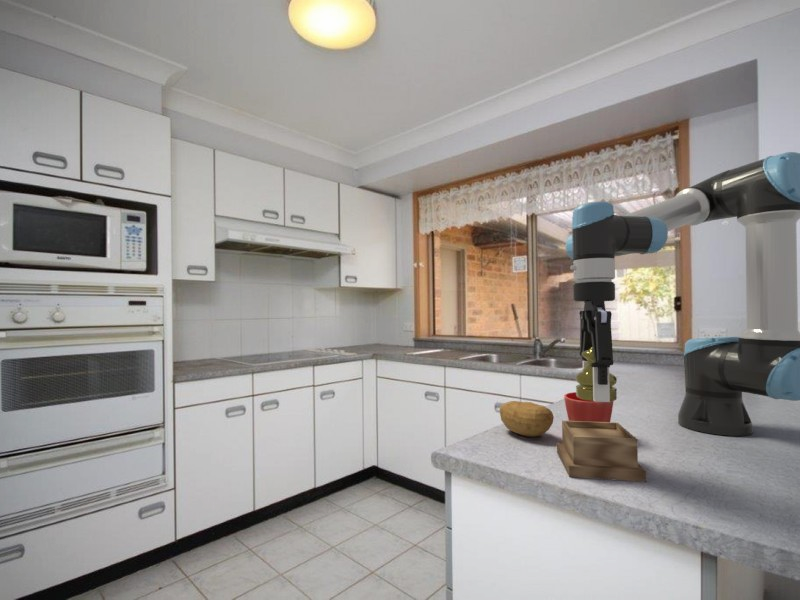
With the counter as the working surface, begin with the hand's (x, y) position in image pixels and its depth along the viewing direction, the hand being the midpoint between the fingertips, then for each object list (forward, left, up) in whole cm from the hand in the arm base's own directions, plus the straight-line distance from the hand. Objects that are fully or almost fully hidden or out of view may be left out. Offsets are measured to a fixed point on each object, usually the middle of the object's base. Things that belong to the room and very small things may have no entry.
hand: (595, 396), depth 81 cm
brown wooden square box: (0, 0, -14) cm, 14 cm away
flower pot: (-3, -19, -14) cm, 24 cm away
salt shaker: (0, 0, -1) cm, 1 cm away
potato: (+12, -18, -14) cm, 26 cm away
